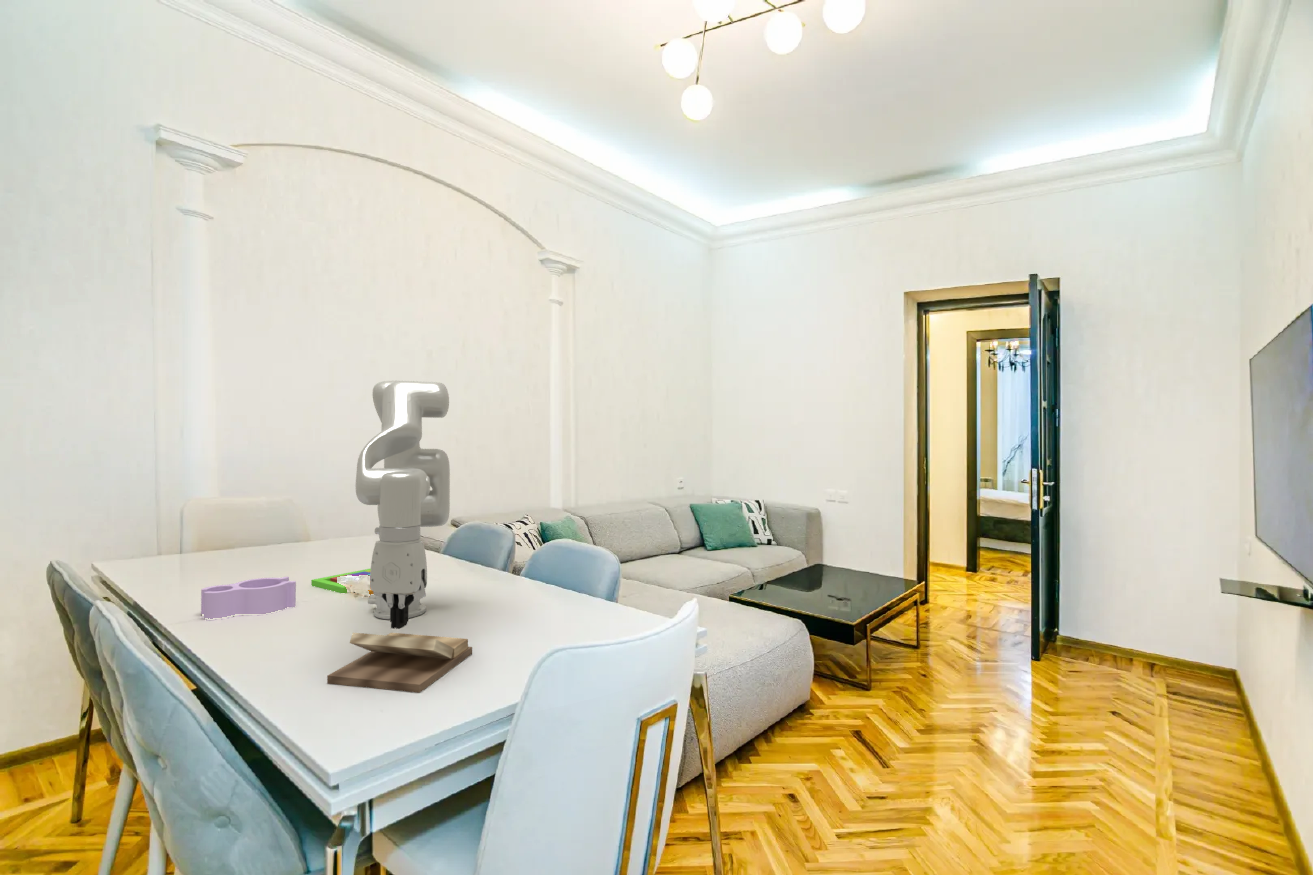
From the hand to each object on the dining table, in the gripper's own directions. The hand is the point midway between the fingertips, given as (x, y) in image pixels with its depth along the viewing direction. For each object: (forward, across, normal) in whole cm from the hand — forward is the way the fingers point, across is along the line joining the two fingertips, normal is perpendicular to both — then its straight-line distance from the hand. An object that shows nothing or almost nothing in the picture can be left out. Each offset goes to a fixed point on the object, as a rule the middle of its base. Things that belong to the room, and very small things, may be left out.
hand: (399, 626), depth 130 cm
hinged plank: (+5, 0, +1) cm, 5 cm away
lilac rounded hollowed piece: (+9, -60, +29) cm, 67 cm away
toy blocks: (+10, -47, +61) cm, 78 cm away
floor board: (+9, 0, +2) cm, 9 cm away
